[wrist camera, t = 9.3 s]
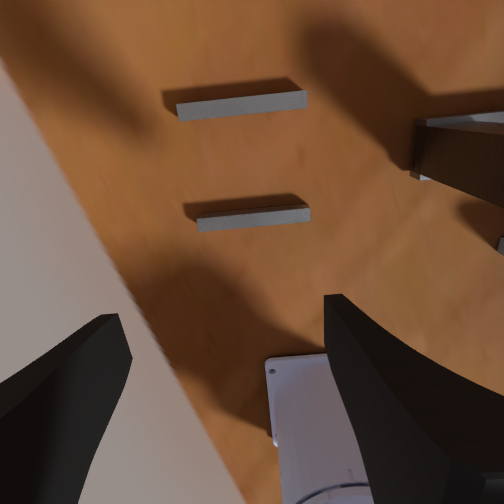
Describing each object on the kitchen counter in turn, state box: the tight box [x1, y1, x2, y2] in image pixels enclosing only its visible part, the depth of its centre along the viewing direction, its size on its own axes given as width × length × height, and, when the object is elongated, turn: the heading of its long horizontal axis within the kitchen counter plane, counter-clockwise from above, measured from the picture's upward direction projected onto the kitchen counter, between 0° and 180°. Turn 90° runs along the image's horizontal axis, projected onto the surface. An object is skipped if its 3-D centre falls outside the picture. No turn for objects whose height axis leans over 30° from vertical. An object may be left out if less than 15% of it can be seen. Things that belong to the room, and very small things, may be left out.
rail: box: [176, 90, 310, 232], centre depth 18 cm, size 7×6×1 cm
